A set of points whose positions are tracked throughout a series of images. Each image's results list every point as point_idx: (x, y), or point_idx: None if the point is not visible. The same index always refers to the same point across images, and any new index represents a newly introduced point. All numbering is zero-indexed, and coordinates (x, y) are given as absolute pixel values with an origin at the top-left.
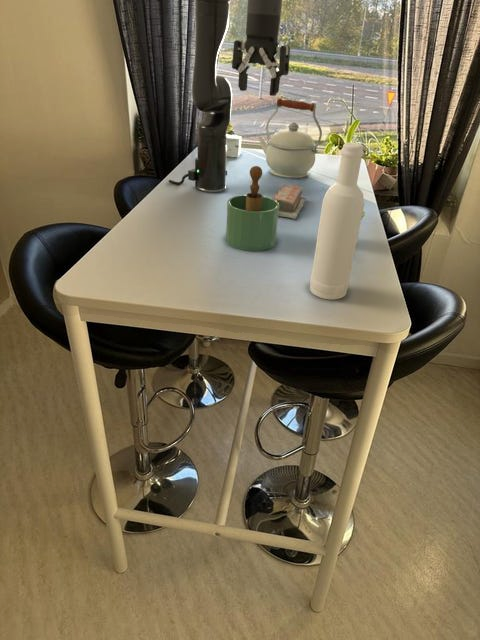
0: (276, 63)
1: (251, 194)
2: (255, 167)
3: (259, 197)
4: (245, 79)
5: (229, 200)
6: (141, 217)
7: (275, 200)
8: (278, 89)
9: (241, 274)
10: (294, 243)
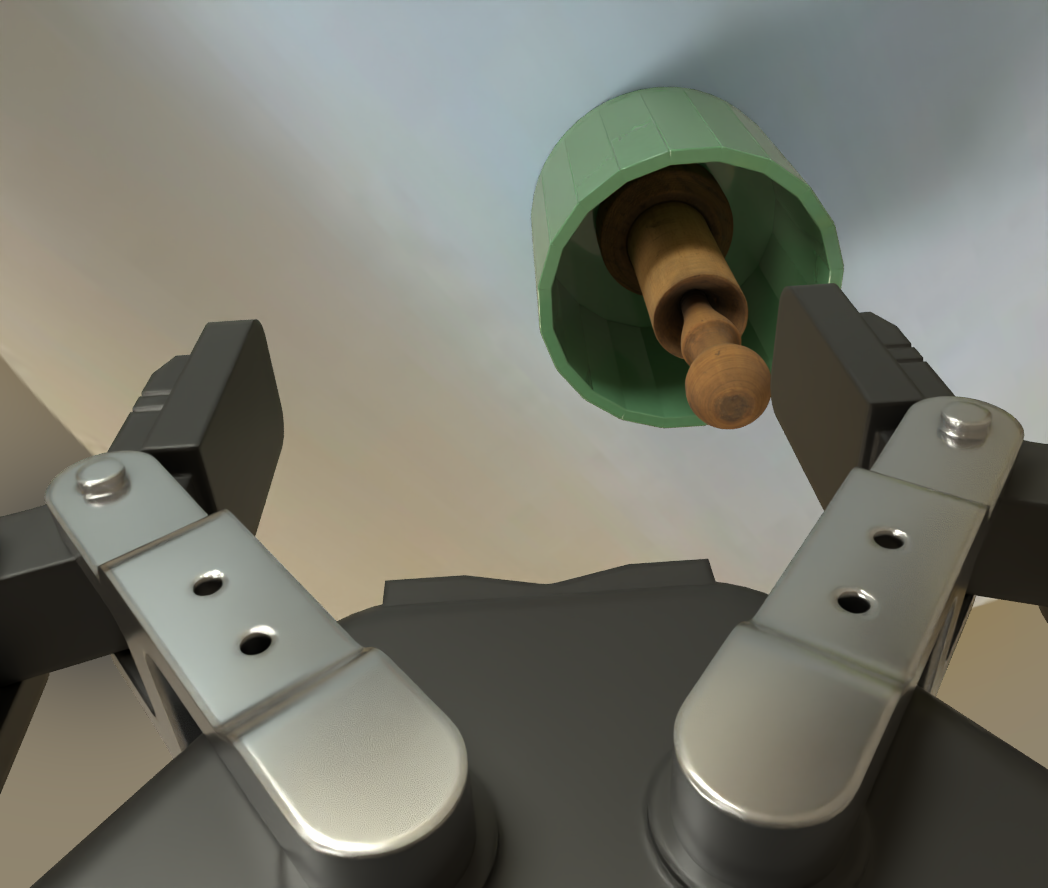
0: (966, 576)
1: (667, 300)
2: (740, 423)
3: (722, 289)
4: (237, 448)
5: (562, 359)
6: (68, 361)
7: (779, 170)
8: (902, 347)
9: (786, 477)
10: (861, 83)
